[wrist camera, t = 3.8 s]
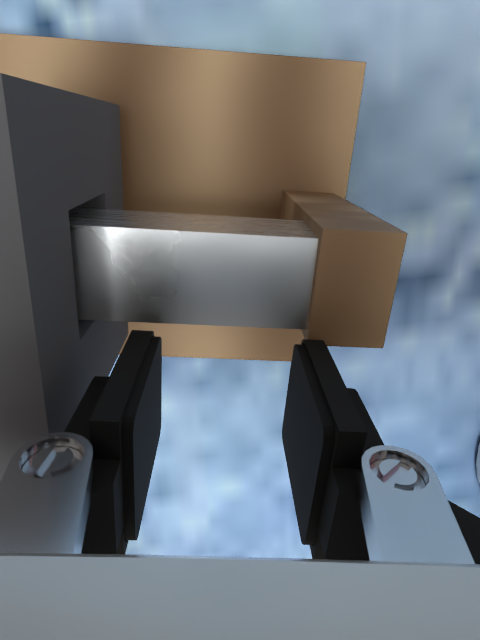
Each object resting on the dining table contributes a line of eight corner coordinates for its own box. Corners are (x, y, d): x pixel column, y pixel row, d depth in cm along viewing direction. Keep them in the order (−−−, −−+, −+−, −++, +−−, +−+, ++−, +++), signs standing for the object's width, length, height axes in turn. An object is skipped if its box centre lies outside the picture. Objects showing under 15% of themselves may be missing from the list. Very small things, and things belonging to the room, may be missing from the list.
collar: (119, 104, 14) (1, 73, 7) (128, 333, 17) (55, 486, 10) (22, 98, 14) (-212, 57, 6) (49, 330, 17) (-86, 482, 9)
